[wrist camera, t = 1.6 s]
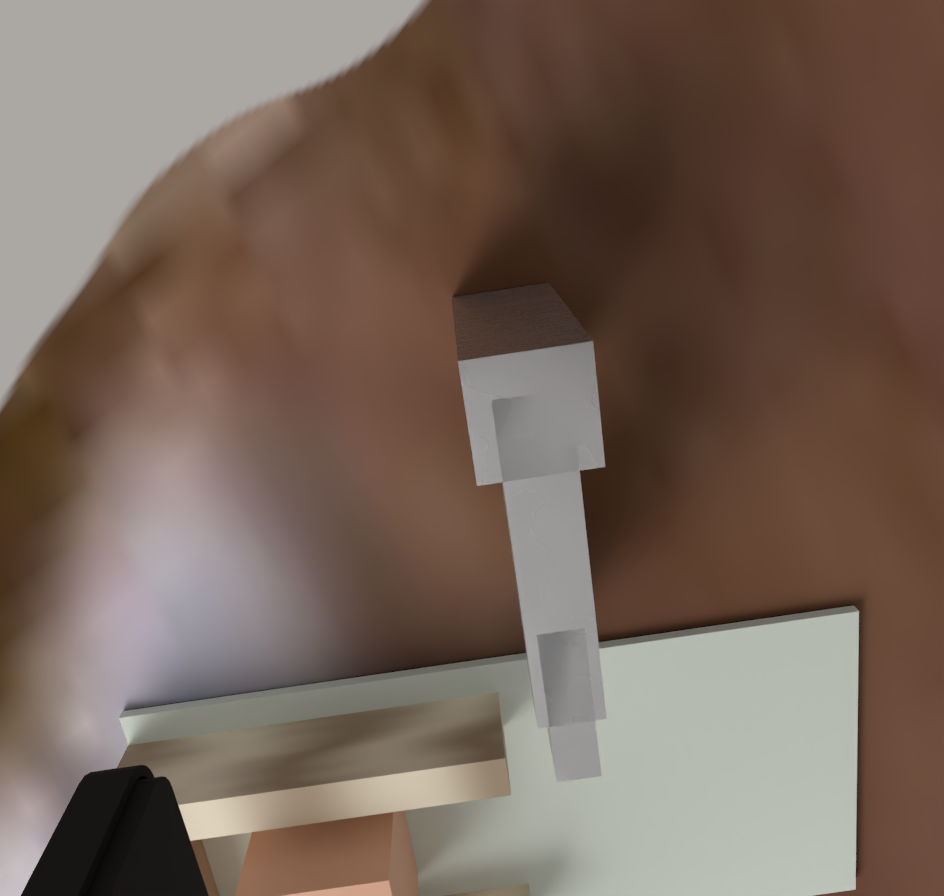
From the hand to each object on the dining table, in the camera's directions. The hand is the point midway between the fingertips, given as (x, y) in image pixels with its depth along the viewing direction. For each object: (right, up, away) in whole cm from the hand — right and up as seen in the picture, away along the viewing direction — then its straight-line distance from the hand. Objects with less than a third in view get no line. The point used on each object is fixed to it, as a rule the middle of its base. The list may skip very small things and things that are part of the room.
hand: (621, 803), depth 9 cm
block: (-7, -11, +24) cm, 27 cm away
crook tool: (0, +3, +19) cm, 20 cm away
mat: (0, -10, +24) cm, 26 cm away
